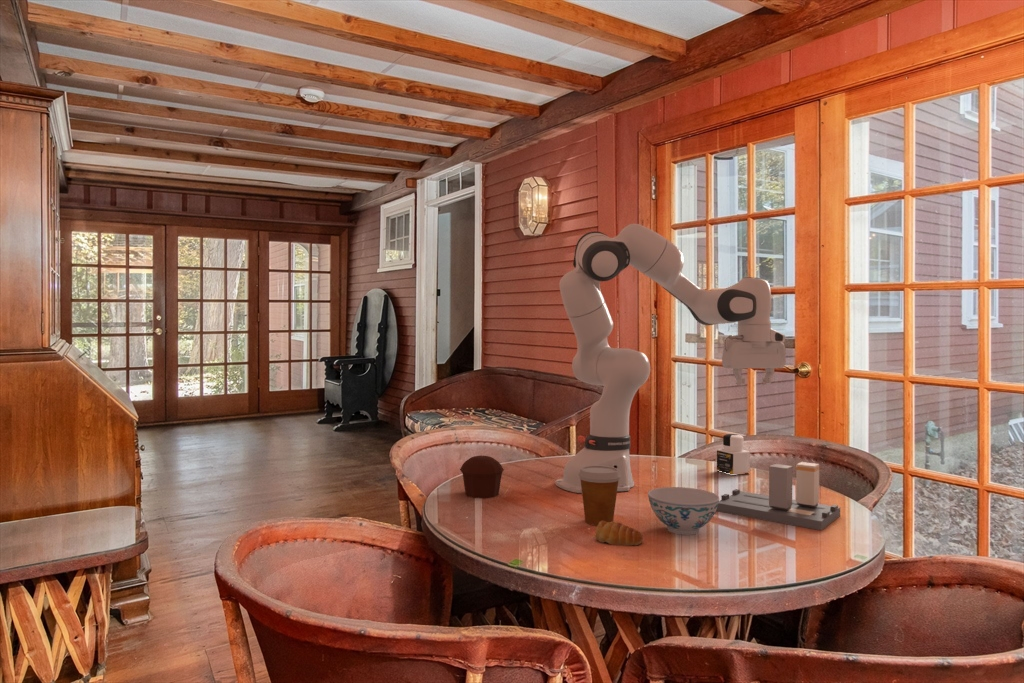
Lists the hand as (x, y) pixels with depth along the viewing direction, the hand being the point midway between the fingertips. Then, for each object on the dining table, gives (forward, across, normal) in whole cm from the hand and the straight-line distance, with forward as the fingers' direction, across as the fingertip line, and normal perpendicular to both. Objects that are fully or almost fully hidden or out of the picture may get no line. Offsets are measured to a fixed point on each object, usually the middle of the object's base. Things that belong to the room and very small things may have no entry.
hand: (753, 384), depth 181 cm
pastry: (+30, -61, -27) cm, 73 cm away
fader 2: (+27, -9, -27) cm, 39 cm away
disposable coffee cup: (+29, -58, -14) cm, 66 cm away
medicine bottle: (+29, +9, +18) cm, 36 cm away
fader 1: (+27, -17, -27) cm, 41 cm away
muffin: (+29, -74, +20) cm, 82 cm away
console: (+29, -14, -23) cm, 40 cm away
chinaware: (+29, -44, -26) cm, 59 cm away
